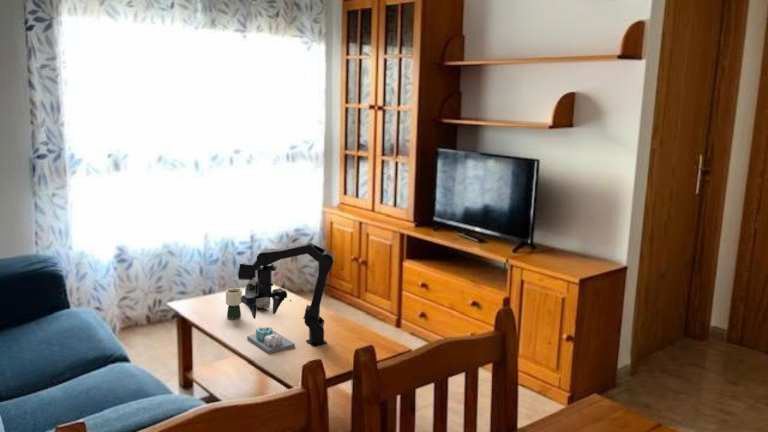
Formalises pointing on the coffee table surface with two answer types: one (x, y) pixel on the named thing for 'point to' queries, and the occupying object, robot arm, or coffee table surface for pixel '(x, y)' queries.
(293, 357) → the coffee table surface
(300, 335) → the coffee table surface
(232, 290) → the character mug
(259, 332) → the teal gear
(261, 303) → the decorative rock
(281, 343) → the gear board
